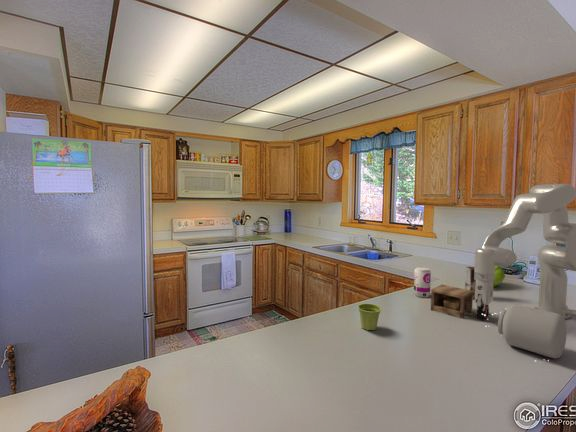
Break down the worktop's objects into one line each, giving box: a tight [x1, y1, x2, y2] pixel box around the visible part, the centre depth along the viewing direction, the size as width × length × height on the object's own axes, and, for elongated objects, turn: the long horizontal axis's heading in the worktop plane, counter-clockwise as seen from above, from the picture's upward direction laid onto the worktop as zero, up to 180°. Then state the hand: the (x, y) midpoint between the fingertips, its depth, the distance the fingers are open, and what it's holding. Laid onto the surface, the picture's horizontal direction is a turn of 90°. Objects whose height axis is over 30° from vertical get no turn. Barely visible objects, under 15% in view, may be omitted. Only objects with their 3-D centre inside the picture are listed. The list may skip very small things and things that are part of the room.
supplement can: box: [413, 266, 432, 299], centre depth 168 cm, size 8×8×15 cm
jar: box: [482, 304, 568, 362], centre depth 111 cm, size 19×15×25 cm
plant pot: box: [357, 302, 382, 331], centre depth 127 cm, size 9×9×9 cm
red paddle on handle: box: [443, 298, 488, 321], centre depth 141 cm, size 17×5×6 cm, turn 42°
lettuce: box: [493, 265, 506, 287], centre depth 185 cm, size 15×22×15 cm
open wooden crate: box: [430, 284, 474, 319], centre depth 145 cm, size 14×12×10 cm
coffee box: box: [464, 266, 476, 300], centre depth 164 cm, size 9×6×16 cm
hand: (482, 317), depth 136 cm, fingers open, 3 cm apart
